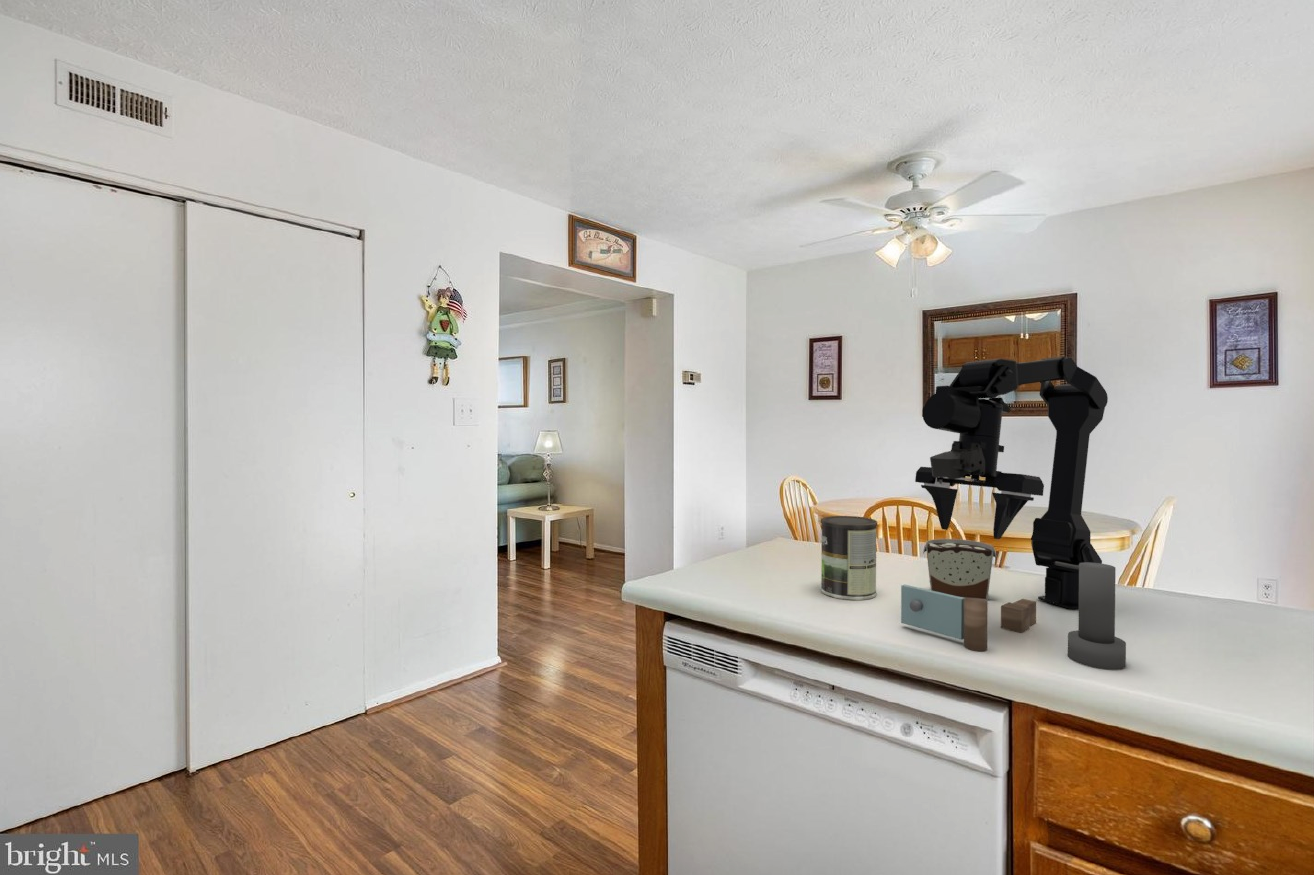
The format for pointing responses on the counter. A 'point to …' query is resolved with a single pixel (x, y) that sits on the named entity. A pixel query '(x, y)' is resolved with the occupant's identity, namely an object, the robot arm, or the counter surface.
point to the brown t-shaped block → (1012, 618)
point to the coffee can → (848, 557)
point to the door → (932, 611)
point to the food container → (960, 567)
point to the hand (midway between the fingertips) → (969, 534)
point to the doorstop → (1097, 620)
